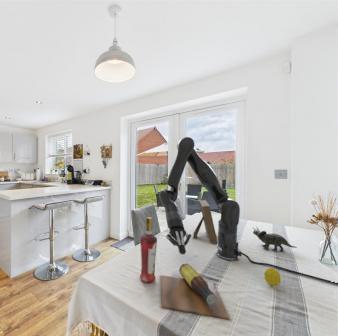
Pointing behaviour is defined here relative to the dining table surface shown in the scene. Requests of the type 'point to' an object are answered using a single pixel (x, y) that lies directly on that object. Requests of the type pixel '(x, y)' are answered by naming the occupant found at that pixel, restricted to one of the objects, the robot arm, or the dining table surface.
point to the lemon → (272, 276)
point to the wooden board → (189, 298)
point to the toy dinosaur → (271, 240)
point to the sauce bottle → (197, 283)
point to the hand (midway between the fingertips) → (183, 253)
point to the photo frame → (206, 222)
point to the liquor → (148, 253)
